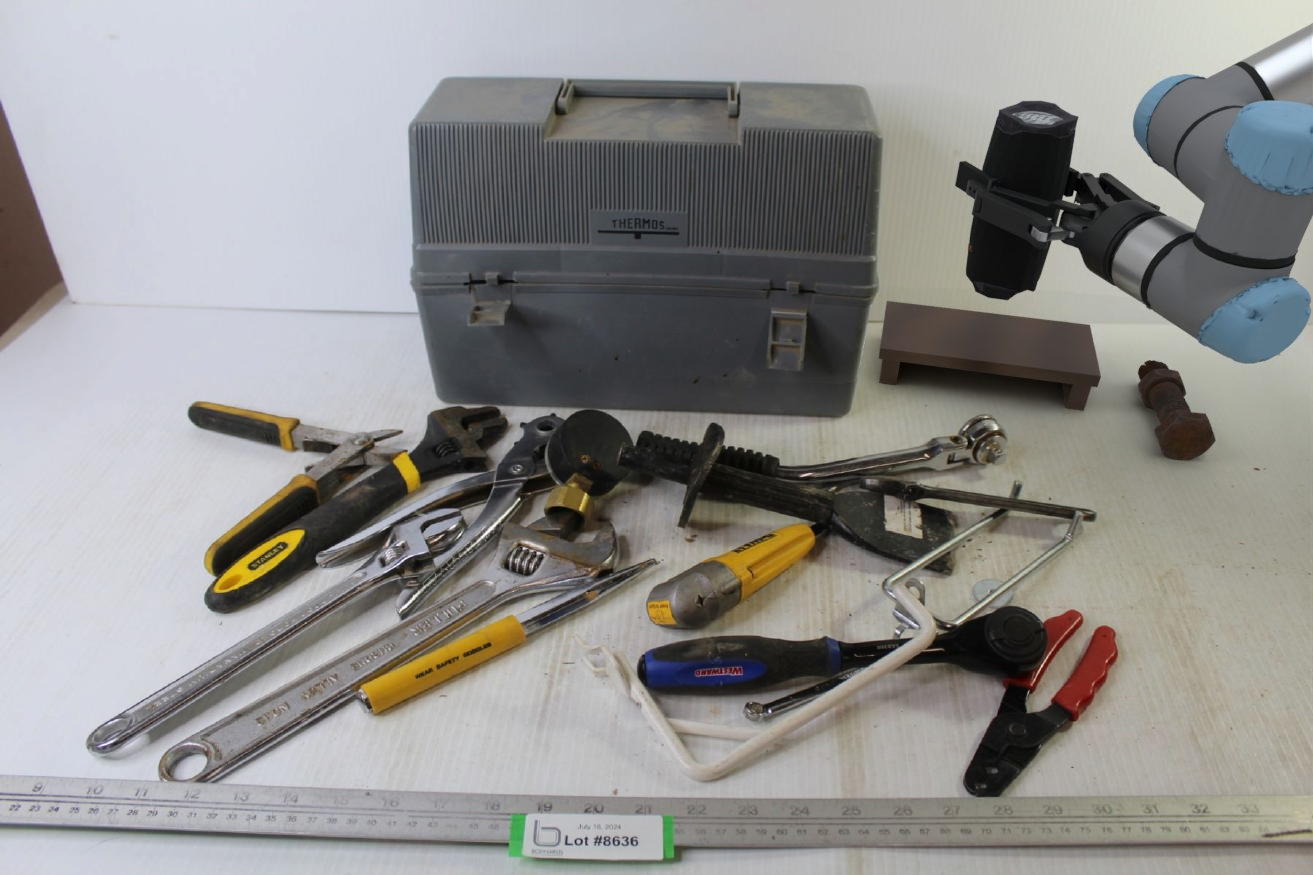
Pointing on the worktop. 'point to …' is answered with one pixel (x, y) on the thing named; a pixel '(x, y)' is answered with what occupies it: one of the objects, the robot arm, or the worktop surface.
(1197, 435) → the bolt
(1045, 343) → the shelf
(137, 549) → the worktop surface
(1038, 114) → the portable speaker
